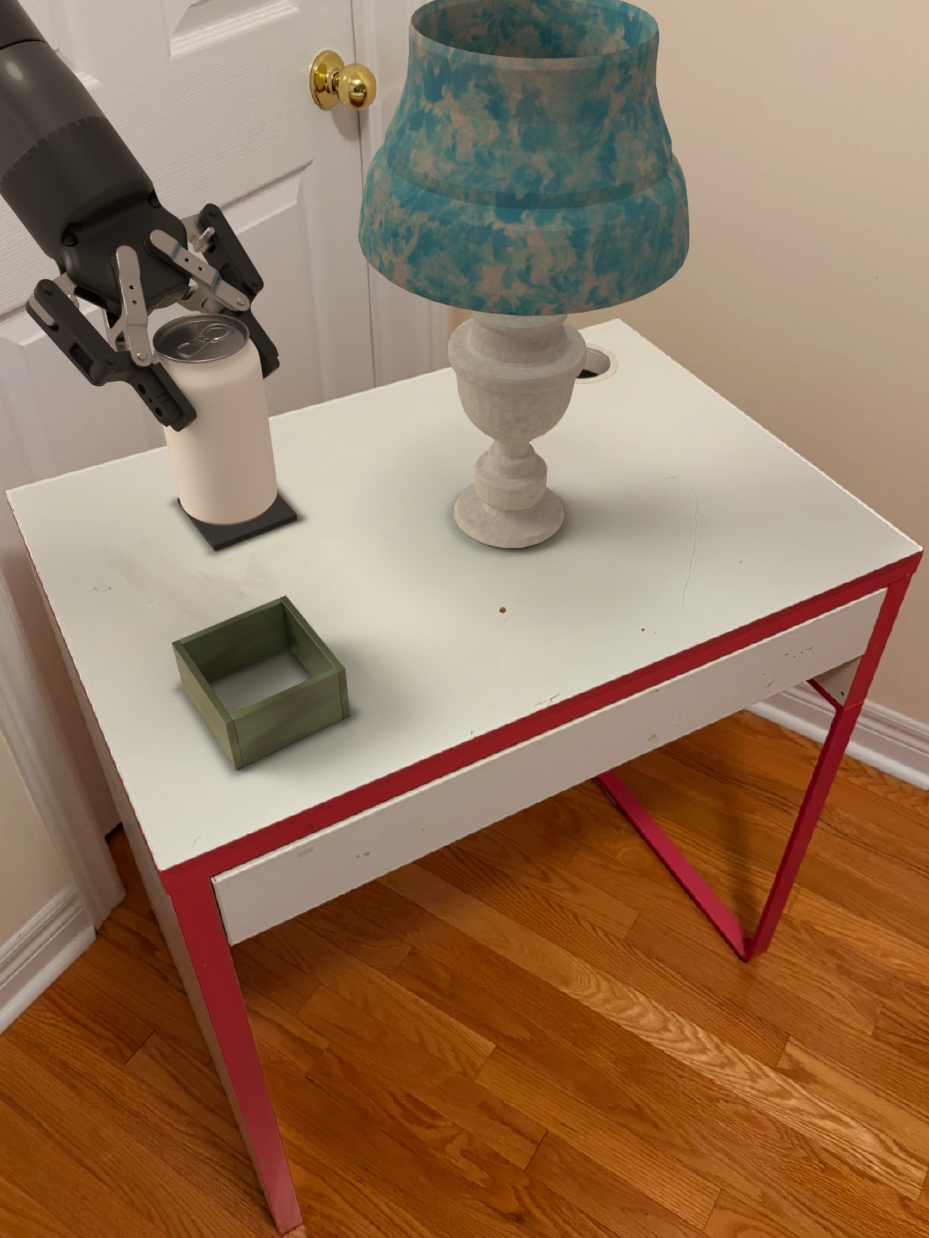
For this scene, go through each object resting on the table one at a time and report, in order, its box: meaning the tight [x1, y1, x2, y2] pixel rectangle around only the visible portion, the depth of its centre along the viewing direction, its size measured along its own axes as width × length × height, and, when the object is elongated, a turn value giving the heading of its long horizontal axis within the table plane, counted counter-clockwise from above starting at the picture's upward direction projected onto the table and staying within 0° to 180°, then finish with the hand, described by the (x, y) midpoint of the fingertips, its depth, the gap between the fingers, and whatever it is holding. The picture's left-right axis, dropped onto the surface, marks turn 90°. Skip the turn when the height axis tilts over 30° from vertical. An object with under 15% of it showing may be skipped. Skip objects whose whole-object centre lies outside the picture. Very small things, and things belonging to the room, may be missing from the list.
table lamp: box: [357, 0, 691, 549], centre depth 80 cm, size 24×24×40 cm
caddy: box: [171, 594, 351, 771], centre depth 76 cm, size 9×9×5 cm
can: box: [152, 312, 279, 526], centre depth 66 cm, size 6×6×12 cm
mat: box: [176, 492, 298, 552], centre depth 94 cm, size 8×8×1 cm
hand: (230, 397), depth 64 cm, fingers closed on can, 6 cm apart
